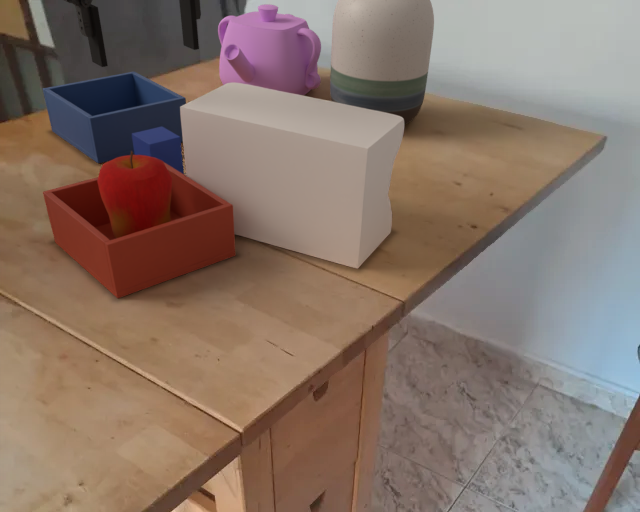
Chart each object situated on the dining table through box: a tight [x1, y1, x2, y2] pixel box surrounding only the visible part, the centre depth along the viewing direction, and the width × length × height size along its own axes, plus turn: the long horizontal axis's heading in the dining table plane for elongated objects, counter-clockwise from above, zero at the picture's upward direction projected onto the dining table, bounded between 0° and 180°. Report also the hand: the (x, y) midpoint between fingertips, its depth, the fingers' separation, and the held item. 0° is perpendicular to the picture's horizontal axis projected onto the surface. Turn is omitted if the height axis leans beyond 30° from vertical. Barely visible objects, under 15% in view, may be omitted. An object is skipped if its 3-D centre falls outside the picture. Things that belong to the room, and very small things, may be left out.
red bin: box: [42, 163, 237, 299], centre depth 85 cm, size 17×17×7 cm
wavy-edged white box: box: [180, 83, 405, 270], centre depth 91 cm, size 25×18×15 cm
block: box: [132, 127, 185, 175], centre depth 100 cm, size 5×5×7 cm
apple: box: [97, 150, 172, 239], centre depth 83 cm, size 9×8×12 cm
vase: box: [329, 0, 435, 126], centre depth 117 cm, size 17×17×24 cm
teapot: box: [217, 3, 322, 96], centre depth 130 cm, size 19×21×14 cm
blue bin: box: [42, 71, 187, 164], centre depth 113 cm, size 17×17×7 cm
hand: (147, 55), depth 91 cm, fingers open, 13 cm apart
